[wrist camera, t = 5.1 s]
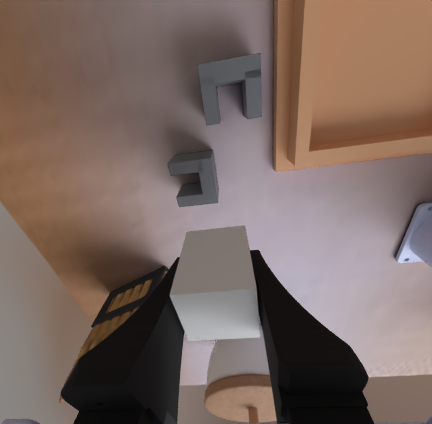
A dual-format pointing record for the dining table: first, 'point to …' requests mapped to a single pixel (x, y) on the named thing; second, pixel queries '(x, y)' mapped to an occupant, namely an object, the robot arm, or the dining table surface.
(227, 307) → the plain white rectangular block
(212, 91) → the clip
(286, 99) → the wooden tray
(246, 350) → the lidded bowl
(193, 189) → the clip
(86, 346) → the ammunition clip
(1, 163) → the dining table surface
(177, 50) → the dining table surface
